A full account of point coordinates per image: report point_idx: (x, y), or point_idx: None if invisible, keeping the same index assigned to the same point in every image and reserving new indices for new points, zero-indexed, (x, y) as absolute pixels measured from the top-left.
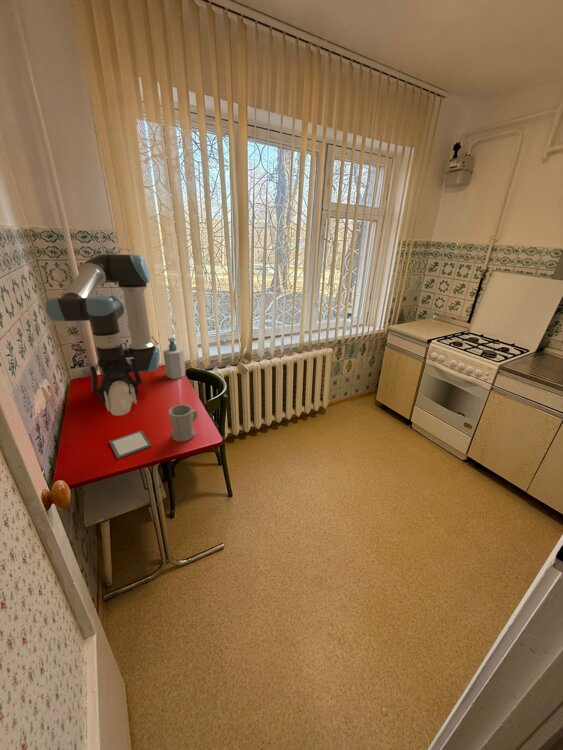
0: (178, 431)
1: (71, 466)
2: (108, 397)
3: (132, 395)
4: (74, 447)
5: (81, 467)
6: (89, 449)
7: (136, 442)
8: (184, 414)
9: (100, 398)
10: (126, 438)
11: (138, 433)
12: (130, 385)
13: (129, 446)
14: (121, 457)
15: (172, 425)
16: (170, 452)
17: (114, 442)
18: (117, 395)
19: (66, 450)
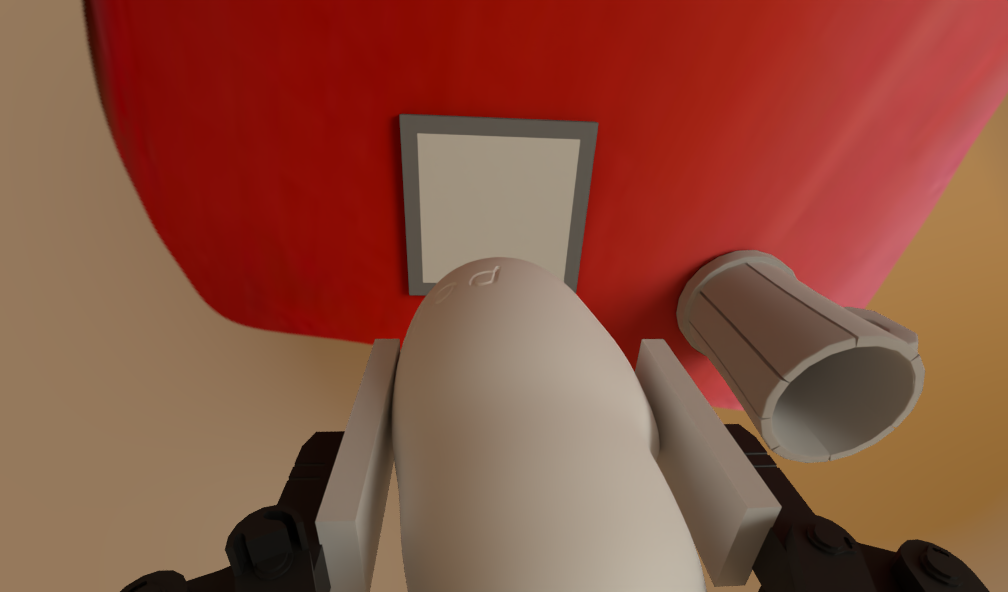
0: (715, 367)
1: (198, 211)
2: (397, 476)
3: (666, 435)
4: (192, 15)
5: (247, 249)
6: (286, 109)
7: (525, 230)
8: (815, 457)
9: (293, 479)
10: (494, 154)
11: (569, 147)
12: (748, 522)
13: (484, 241)
14: (428, 292)
15: (721, 356)
16: None
17: (425, 149)
18: None
19: (144, 17)
